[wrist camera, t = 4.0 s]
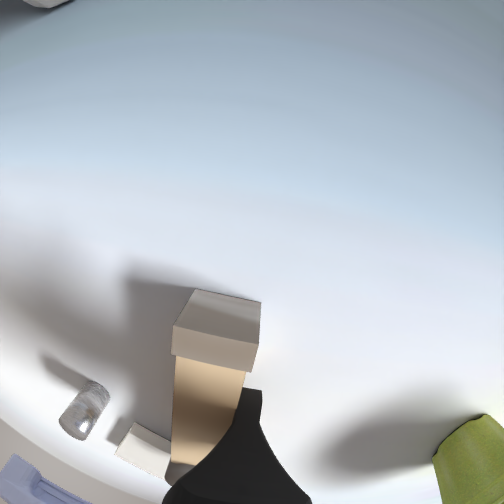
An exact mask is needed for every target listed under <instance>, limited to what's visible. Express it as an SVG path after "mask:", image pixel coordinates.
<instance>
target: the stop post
mask: <svg viewBox="0 0 504 504" xmlns="http://www.w3.org/2000/svg"><path fill="white" fill-rule="evenodd" d="M109 401H110V396H109V394H108V392H107V391H106V389H105V388H104V387H102V386H101V385H100V384H98V383H96V382H92V381H89V382H87V383H86V384H85V385H84V387H83V388H82V389H81V391H80V392H79V393H78V394H77V396H76V397H75V398H74V400H73V401H72V402H71V404H70V405H69V406H68V408H67V409H66V410H65V412H64V413H63V414H62V416H61V417H60V418H59V424H60V425H61V427H62V428H63V429H64V430H65V431H66V432H67V433H68V434H69V435H70V436H72V437H74V438H76V439H78V440H82V441H83V440H86V438H87V436H88V435H89V433H90V431H91V430H92V428H93V427H94V425H95V423H96V422H97V420H98V418H99V417H100V415H101V414H102V412H103V411H104V409H105V407H106V406H107V404H108V403H109Z"/></svg>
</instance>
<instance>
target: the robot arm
mask: <svg viewBox="0 0 504 504" xmlns="http://www.w3.org/2000/svg"><path fill="white" fill-rule="evenodd" d="M261 408H262V391H261V390H255V389H249V388H244V387H242V390H241V394H240V398H239V401H238V405H237V409H235V413H234V417H233V421H232V424H231V426H230V427H229V429H228V430H227V432H226V433H225V434H224V436H223V437H222V438H221V440H220V441H219V442H218V443H217V445H216V446H215V447H214V448H213V449H212V450H211V451H210V452H209V454H208V455H207V456H206V457H205V458H203V459H202V460H201V461H200V462H199V463H198V464H197V465H196V466H195V467H194V468H192V469H191V470H190V471H188V472H187V473H186V474H184V475H183V476H182V477H180V478H179V479H178V480H177V481H176V483H175V484H174V485H173V486H172V487H171V488H170V490H169V491H168V492H167V494H166V495H165V497H164V499H163V502H162V504H312V501H311V499H310V497H309V496H308V495H307V494H306V493H305V492H304V491H303V490H302V489H301V488H300V487H299V486H298V485H297V484H296V483H295V482H294V481H293V480H292V478H291V477H290V476H289V475H288V473H287V472H286V471H285V469H284V468H283V467H282V465H281V464H280V463H279V461H278V460H277V458H276V456H275V455H274V453H273V451H272V450H271V448H270V446H269V444H268V442H267V440H266V438H265V435H264V433H263V431H262V428H261V426H260V423H259V421H260V415H261ZM0 497H1V498H2V499H4V500H5V501H6V502H7V503H8V504H92V503H90V502H88V501H86V500H84V499H82V498H80V497H78V496H76V495H74V494H72V493H70V492H68V491H66V490H64V489H63V488H61V487H59V486H57V485H56V484H54V483H52V482H50V481H49V480H47V479H45V478H44V477H42V475H41V473H40V472H39V471H38V470H37V469H36V468H35V467H34V466H33V465H31V464H30V463H28V462H27V461H25V460H24V459H22V458H21V457H20V456H18V455H17V454H13V455H12V456H11V458H10V459H9V461H8V462H7V464H6V465H5V466H4V468H3V469H2V470H1V472H0Z"/></svg>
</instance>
